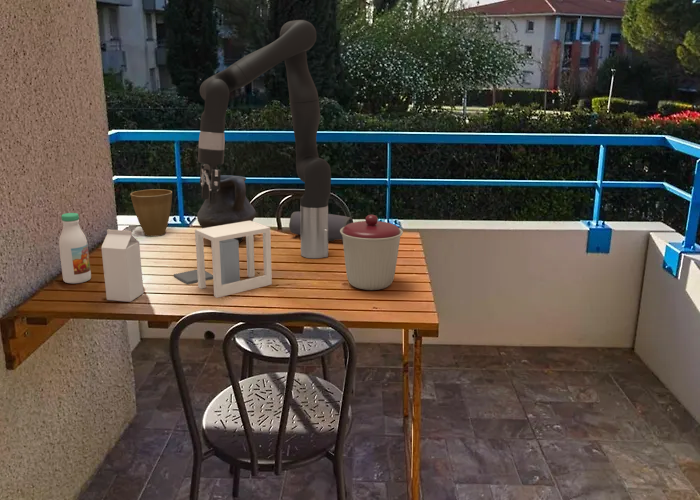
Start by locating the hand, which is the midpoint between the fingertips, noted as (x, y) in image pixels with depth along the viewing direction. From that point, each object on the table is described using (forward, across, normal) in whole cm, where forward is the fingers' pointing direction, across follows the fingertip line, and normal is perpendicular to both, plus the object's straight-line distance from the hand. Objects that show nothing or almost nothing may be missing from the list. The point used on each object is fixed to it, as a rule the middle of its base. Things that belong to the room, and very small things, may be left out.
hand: (208, 201), depth 192 cm
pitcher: (+20, +31, -16) cm, 40 cm away
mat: (+23, -4, +4) cm, 24 cm away
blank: (+22, -13, -4) cm, 26 cm away
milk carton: (+25, -13, +25) cm, 38 cm away
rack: (+22, -17, -4) cm, 28 cm away
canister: (+19, -33, -40) cm, 55 cm away
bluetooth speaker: (+17, +20, -48) cm, 55 cm away
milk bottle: (+26, +8, +36) cm, 45 cm away
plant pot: (+22, +53, +6) cm, 58 cm away
